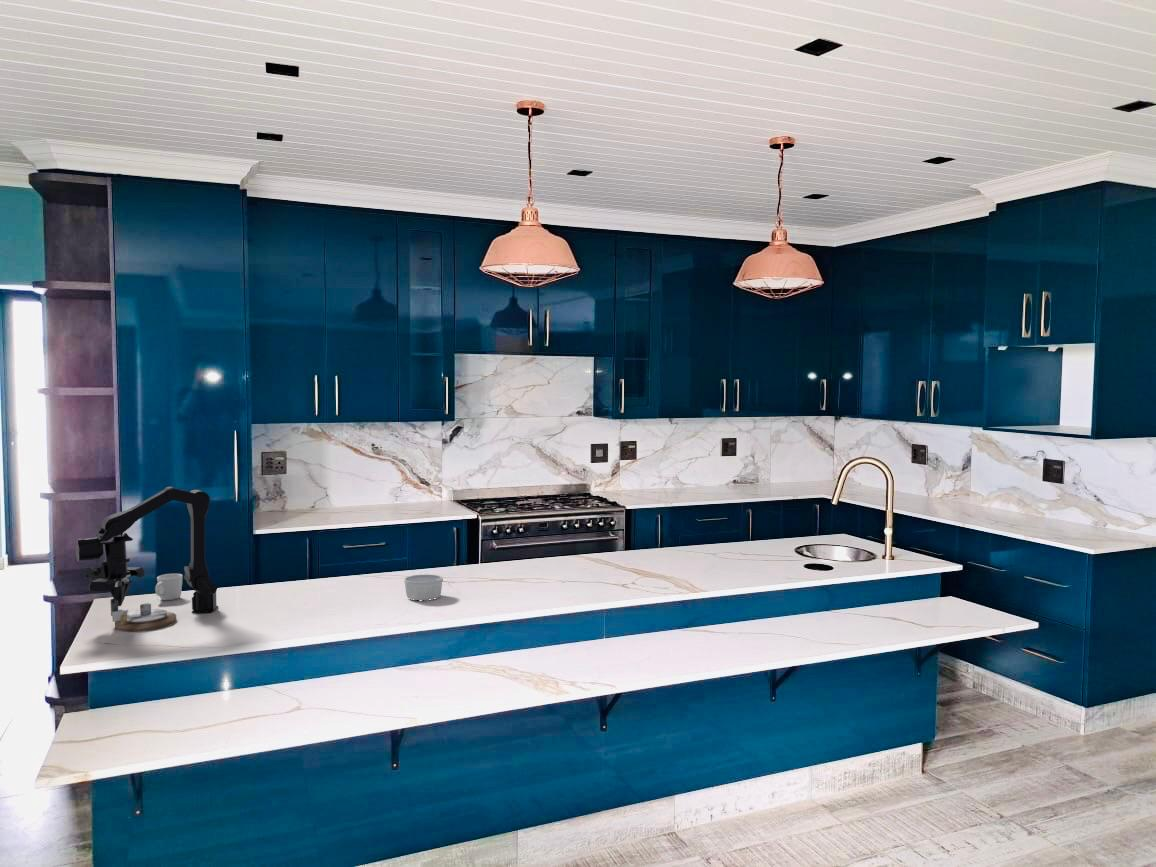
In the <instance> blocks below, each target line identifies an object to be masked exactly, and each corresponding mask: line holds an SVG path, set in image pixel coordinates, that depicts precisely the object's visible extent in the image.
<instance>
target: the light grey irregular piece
mask: <svg viewBox="0 0 1156 867" xmlns="http://www.w3.org/2000/svg"><path fill="white" fill-rule="evenodd" d="M167 612H168V610H165V609H162V608H161V609H160V608H155V609H154V608H152V604H151V603H149V602H148V603H142V604H140V605H139V610H137V611H132V612H129V609H128V608H122V609H120V608H119V606H118V598H110V616H111V617H112V623H113V622H114V623H115V621H121V615H127V623H149V622H154V621H158V620H162V619H164V618H166V617H167Z"/></svg>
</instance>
